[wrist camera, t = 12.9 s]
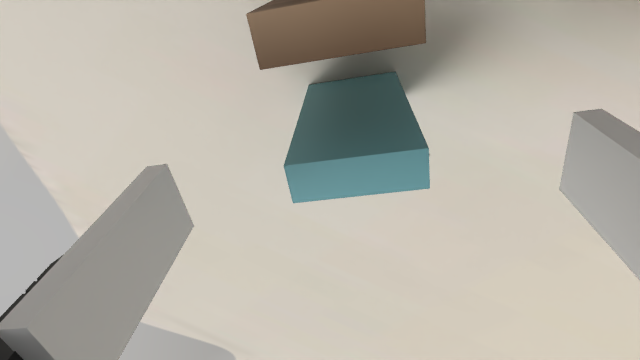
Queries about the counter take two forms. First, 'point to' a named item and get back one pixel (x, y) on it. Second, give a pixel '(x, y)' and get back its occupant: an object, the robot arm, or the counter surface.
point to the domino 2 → (356, 141)
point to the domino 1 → (332, 28)
